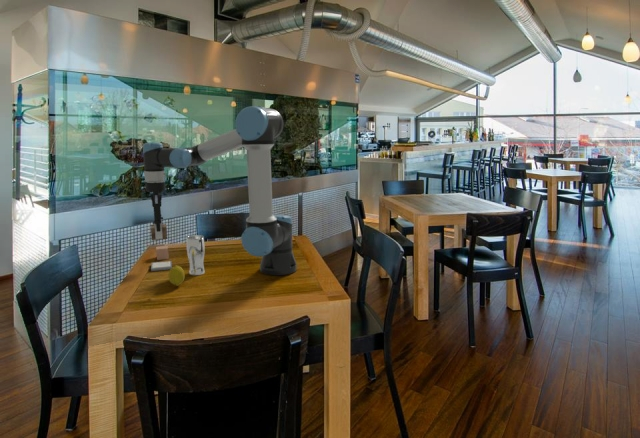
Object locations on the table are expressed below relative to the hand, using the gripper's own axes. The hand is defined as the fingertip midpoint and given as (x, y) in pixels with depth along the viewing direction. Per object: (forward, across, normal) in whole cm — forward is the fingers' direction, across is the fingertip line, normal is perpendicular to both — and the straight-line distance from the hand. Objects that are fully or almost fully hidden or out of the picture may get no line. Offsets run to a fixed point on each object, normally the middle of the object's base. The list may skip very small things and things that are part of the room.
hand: (159, 236), depth 176 cm
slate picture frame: (+13, 0, 0) cm, 13 cm away
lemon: (+13, -26, -6) cm, 30 cm away
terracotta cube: (+13, +14, -1) cm, 19 cm away
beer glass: (+13, -13, -14) cm, 23 cm away
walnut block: (0, 0, 0) cm, 0 cm away
